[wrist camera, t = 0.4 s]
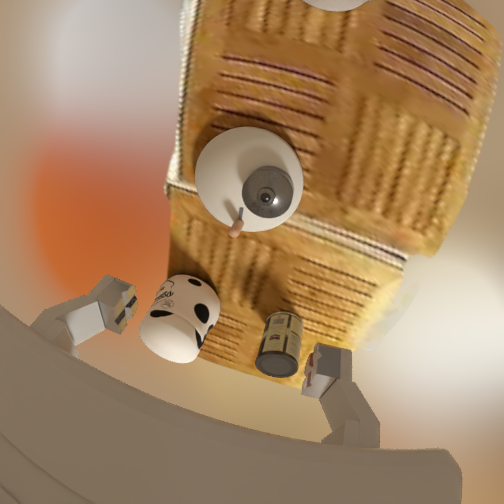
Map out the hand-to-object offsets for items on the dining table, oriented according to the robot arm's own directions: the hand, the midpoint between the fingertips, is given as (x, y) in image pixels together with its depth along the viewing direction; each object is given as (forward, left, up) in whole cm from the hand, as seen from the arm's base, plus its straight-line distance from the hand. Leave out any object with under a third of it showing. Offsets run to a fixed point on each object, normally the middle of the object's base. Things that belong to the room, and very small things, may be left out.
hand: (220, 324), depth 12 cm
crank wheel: (+11, -7, -45) cm, 47 cm away
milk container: (+47, -17, -45) cm, 67 cm away
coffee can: (+48, +9, -45) cm, 66 cm away
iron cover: (+11, -3, -42) cm, 44 cm away
